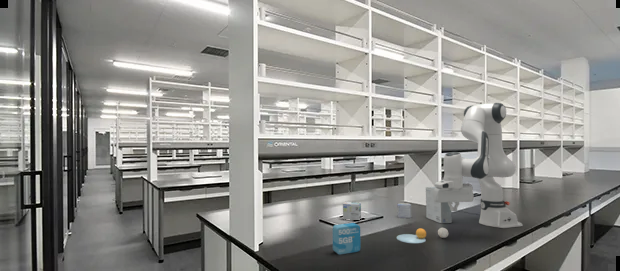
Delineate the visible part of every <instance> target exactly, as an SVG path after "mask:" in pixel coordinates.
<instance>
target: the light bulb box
mask: <svg viewBox="0 0 620 271" xmlns="http://www.w3.org/2000/svg"><path fill="white" fill-rule="evenodd" d="M343 219H350V220H360V219H361V220H362V202H360V201H359V202H356V201H355V202H353V201H345V202H343V203H342V220H343ZM361 220H360V221H361Z"/></svg>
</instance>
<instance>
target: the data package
mask: <svg viewBox="0 0 620 271" xmlns="http://www.w3.org/2000/svg"><path fill="white" fill-rule="evenodd" d="M332 251H334V252H335V253H336V254H337V255H339V256H340V255H345V254H352V253H357V252H360V251H361V227H360V225H359V224H357V223H355V222H350V223H341V224H334V225H333V227H332Z"/></svg>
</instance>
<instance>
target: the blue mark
mask: <svg viewBox="0 0 620 271" xmlns="http://www.w3.org/2000/svg"><path fill="white" fill-rule="evenodd" d="M396 239H397V241H400V242H403V243H407V244H422V243H425V242H426V240H427V239H426V237H425V238H423V239H421V238H418V237H417V235H416V234H411V233H403V234H399V235H397V236H396Z"/></svg>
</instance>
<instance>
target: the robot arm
mask: <svg viewBox="0 0 620 271" xmlns="http://www.w3.org/2000/svg"><path fill="white" fill-rule="evenodd" d="M506 117H507V108H506V105H505V104H503V103H501V102H491V103H490V102H489V103H488V102H487V103H486V102H485V103H481V104H475V105H469V106H466V108H465V109H464V110H463V119H462V122H461V127H460V133H461V134H462V136H463V137H464V138H465V139H467V140H468V141H470V142H474V143H477V157H475V158H465V157H462V153H461V152H458V151H451V152H446V153H445V154H444V157H443V172H444V175H443V179H442V180H440V181H436V182H434V187H436V188H435V189H434V192H433V200H434V201H435V202H437V203H442V202H448V205H449V206H450V211H452V212H457V211H458V207H459V205H460V203H471V202H474V198H475V196H474V191H473V185H472V184H470V183H463V182H464V181H463V180H464V179H463V177H467V178H474V179H477V181H478V183H479V185H480V186H479V187H480V194H481V195H480V217H479V220H478V223H479V224H480V225H483V226H487V227H494V228H501V229H508V228H515V227H516V228H517V227H523V225H524V224H523V223H522V222H520V221H518V216H517V214H516V213H515V212H514V211H512V210H510V208H508V207H507V206H510V205H511V202H510V201H505V200H504V192H503V191H504V190H503V187H502V185H501V184H499V183H498V182H496V180H495V179H494V177H495V178H502V179H503V178H511V177H513V176H514V175H515V173H516V170H517V167H516V164H515V162H514V161H513V160H511V158H509V157H508V156H507V153H505V151H504V148H503V132H502V124H501V123H502V122H503V121H504V119H505V118H506ZM453 203H454V205H453ZM506 205H507V206H506Z"/></svg>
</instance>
